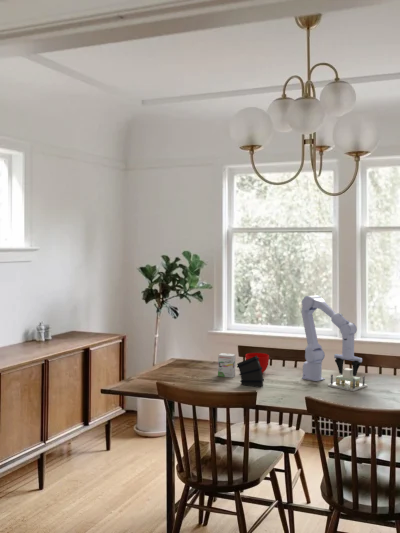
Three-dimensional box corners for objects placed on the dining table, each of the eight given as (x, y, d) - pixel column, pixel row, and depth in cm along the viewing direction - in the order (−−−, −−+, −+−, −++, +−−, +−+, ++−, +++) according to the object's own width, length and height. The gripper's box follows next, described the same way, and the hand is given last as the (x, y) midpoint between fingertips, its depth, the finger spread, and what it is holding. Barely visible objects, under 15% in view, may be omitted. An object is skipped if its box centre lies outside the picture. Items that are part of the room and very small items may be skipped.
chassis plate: (327, 386, 286) (328, 375, 285) (342, 381, 296) (342, 371, 295) (353, 391, 276) (353, 379, 276) (367, 386, 286) (367, 375, 286)
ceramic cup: (275, 371, 320) (276, 353, 320) (262, 376, 306) (262, 358, 305) (255, 368, 327) (255, 350, 327) (241, 373, 313) (241, 355, 312)
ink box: (217, 376, 305) (217, 354, 305) (220, 374, 310) (220, 352, 310) (232, 377, 302) (232, 355, 302) (235, 375, 307) (235, 354, 307)
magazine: (266, 385, 280) (255, 356, 282) (244, 393, 285) (233, 365, 288) (269, 383, 283) (257, 355, 286) (247, 391, 289) (236, 364, 291)
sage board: (335, 378, 287) (335, 368, 287) (342, 376, 292) (343, 366, 292) (353, 381, 280) (353, 371, 280) (360, 379, 285) (360, 369, 285)
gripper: (365, 348, 283) (364, 375, 283) (339, 344, 293) (339, 371, 293) (358, 350, 278) (357, 377, 278) (332, 346, 288) (331, 373, 288)
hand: (347, 374), depth 286 cm, fingers open, 7 cm apart
